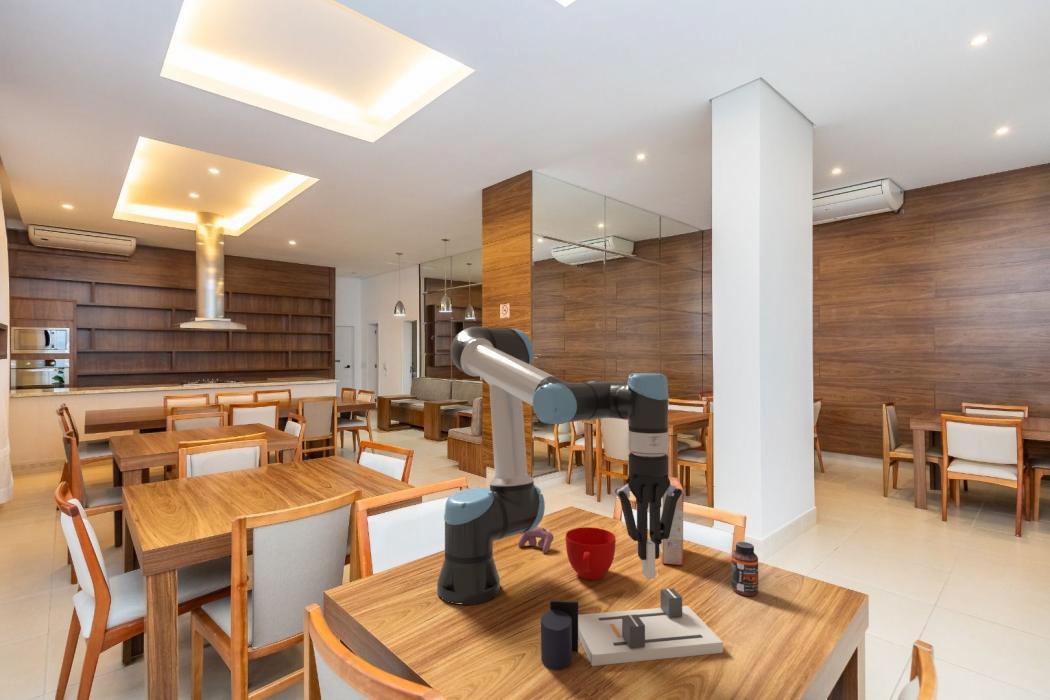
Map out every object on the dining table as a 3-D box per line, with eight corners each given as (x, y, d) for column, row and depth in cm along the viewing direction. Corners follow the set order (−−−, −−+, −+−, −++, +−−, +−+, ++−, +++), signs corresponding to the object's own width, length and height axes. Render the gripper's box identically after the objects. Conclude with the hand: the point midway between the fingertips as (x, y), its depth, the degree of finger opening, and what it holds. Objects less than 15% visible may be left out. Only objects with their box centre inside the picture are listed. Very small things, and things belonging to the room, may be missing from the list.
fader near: (629, 648, 91) (629, 626, 91) (622, 636, 95) (622, 615, 95) (645, 647, 91) (645, 625, 92) (636, 634, 96) (636, 613, 96)
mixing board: (592, 665, 89) (592, 654, 89) (572, 624, 103) (572, 614, 103) (723, 652, 93) (723, 641, 93) (687, 614, 107) (687, 605, 107)
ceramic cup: (559, 589, 119) (559, 548, 119) (569, 561, 135) (569, 525, 135) (613, 596, 116) (613, 553, 116) (616, 566, 132) (616, 529, 132)
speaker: (551, 642, 96) (551, 592, 95) (578, 651, 94) (579, 600, 93) (535, 668, 90) (535, 614, 89) (564, 678, 87) (565, 624, 86)
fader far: (668, 617, 102) (668, 598, 102) (660, 608, 106) (660, 589, 106) (682, 616, 102) (682, 597, 102) (673, 606, 106) (673, 588, 106)
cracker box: (684, 566, 132) (684, 489, 133) (661, 564, 133) (661, 487, 134) (679, 547, 146) (678, 476, 146) (658, 545, 147) (657, 475, 147)
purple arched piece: (551, 555, 143) (556, 531, 146) (545, 553, 140) (550, 528, 142) (523, 549, 148) (528, 525, 151) (516, 546, 145) (521, 522, 148)
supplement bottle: (745, 599, 114) (744, 550, 114) (725, 588, 120) (725, 541, 120) (764, 594, 117) (763, 547, 117) (744, 584, 122) (744, 538, 122)
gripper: (622, 457, 90) (623, 586, 90) (689, 455, 92) (689, 582, 91) (609, 450, 97) (609, 569, 97) (671, 448, 99) (671, 565, 99)
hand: (648, 575), depth 94 cm, fingers closed
